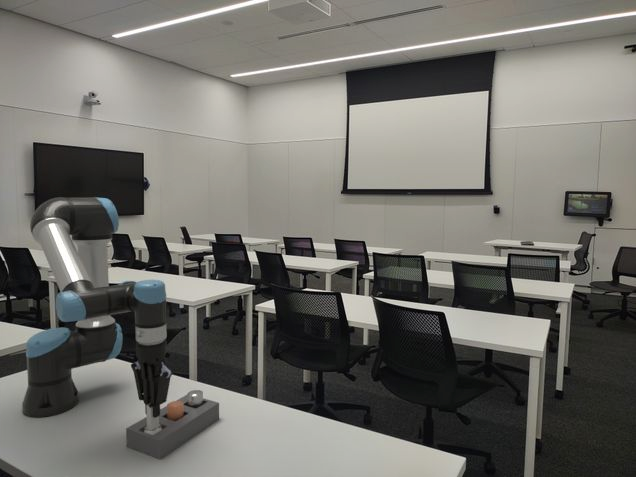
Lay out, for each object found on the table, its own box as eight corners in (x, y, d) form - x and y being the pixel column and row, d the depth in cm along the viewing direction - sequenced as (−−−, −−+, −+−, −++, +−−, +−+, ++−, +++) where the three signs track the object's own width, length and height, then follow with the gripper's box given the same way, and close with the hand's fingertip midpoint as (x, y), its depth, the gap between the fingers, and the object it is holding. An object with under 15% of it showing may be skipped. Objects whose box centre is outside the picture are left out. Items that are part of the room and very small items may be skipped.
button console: (126, 446, 118) (126, 428, 117) (188, 409, 138) (188, 393, 137) (159, 459, 112) (159, 440, 112) (219, 418, 133) (219, 402, 132)
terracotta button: (163, 421, 124) (163, 406, 123) (175, 414, 128) (175, 399, 127) (175, 425, 122) (175, 409, 121) (187, 418, 126) (186, 403, 125)
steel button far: (184, 409, 131) (184, 394, 130) (194, 403, 135) (194, 388, 134) (195, 412, 129) (195, 398, 128) (206, 406, 133) (206, 392, 132)
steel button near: (140, 445, 117) (140, 429, 116) (153, 437, 121) (153, 422, 120) (152, 450, 115) (152, 434, 114) (165, 442, 119) (165, 426, 118)
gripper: (121, 340, 115) (123, 427, 117) (158, 349, 109) (160, 440, 111) (144, 332, 121) (146, 415, 124) (180, 340, 115) (182, 427, 118)
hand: (153, 427), depth 117 cm, fingers closed
